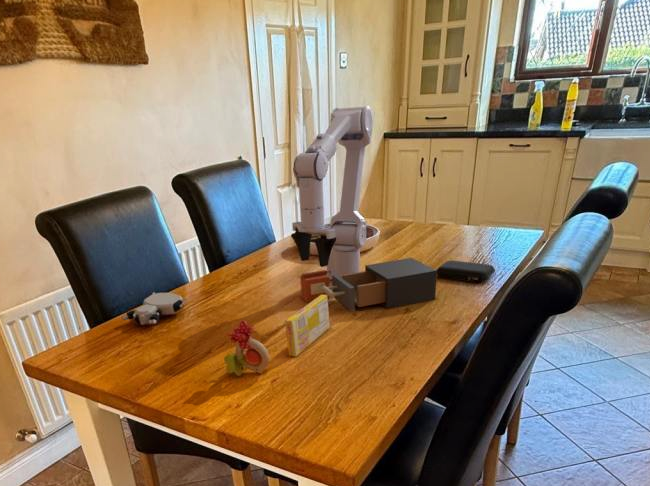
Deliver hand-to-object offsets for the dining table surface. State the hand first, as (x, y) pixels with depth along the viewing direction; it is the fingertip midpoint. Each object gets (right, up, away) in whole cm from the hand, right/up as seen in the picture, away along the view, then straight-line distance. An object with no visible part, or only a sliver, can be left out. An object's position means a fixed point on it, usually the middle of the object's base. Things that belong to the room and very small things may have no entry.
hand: (314, 263), depth 131 cm
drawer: (+11, -9, +1) cm, 14 cm away
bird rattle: (-15, -29, -26) cm, 42 cm away
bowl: (+10, +19, +51) cm, 56 cm away
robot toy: (-41, -14, +4) cm, 43 cm away
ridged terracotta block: (+1, -7, +8) cm, 11 cm away
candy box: (-2, -22, -16) cm, 27 cm away
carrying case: (+43, 0, +14) cm, 45 cm away
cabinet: (+23, -8, +5) cm, 24 cm away
